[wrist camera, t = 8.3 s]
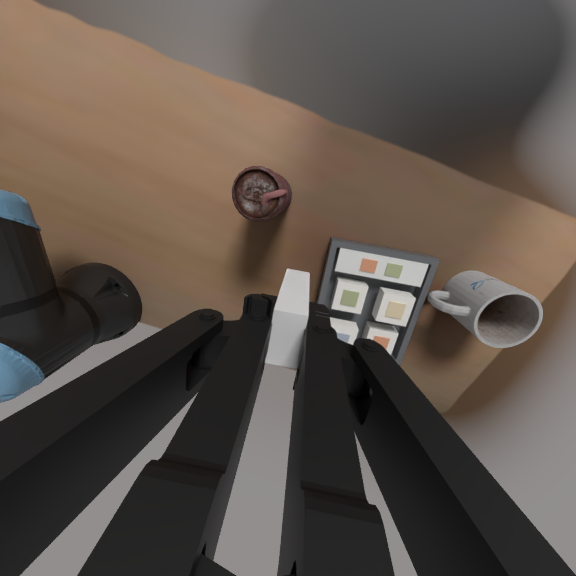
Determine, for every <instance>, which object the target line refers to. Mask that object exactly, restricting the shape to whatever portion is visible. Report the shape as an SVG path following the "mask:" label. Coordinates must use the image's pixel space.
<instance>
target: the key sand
mask: <svg viewBox="0 0 576 576" xmlns="http://www.w3.org/2000/svg"><path fill="white" fill-rule="evenodd" d="M415 300H416V298H415V297H414V296H413V295H412V294H411V293H410V292H405V291H399V290H394V289H389V288H384V287H380V289H379V292H378V295H377V298H376V302H375V305H374V308H373V311H372V315H373V317H374V319H375V321H379V322H384V323H390V324H395V325H400V326H405V327H406V325H407V322H408V319H409V317H410V314H411V311H412V308H413V306H414V303H415Z"/></svg>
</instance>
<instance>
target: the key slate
mask: <svg viewBox="0 0 576 576" xmlns="http://www.w3.org/2000/svg"><path fill="white" fill-rule="evenodd" d="M330 322H331V327H333V328H334V329H335V331H336V332H337V338H338V339H340V340H342V341H344V342H346V343H349V344H351V345H353V343H354V341H355V340H356V337H357V334H358V331H359V329H358V327H357V324H356V322H352V321H347V320H342V319H336V318H331V317H330Z"/></svg>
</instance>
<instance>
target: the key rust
mask: <svg viewBox="0 0 576 576" xmlns="http://www.w3.org/2000/svg"><path fill="white" fill-rule="evenodd" d="M398 334H399V333H398V332H397V330H396V329H395V327H394V326H391V325H386V324H381V323H375V322H370V321H366V325H365V328H364V331H363V334H362V338H365V339H371V340H374V341H376V342H377V343H379V344H381V345H382V346H383V347H384V348H385V349H386V350H387V352H388V353H389V354H390V355H391V354H392V351H393V348H394V345H395V343H396V340H397V337H398Z"/></svg>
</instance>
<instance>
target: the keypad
mask: <svg viewBox="0 0 576 576" xmlns="http://www.w3.org/2000/svg"><path fill="white" fill-rule="evenodd" d="M439 262H440V260H439V259H437V258H435V257H433V256H431V255H425V254H420V253H415V252H409V251H404V250H399V249H393V248H388V247H382V246H377V245H372V244H366V243H361V242H356V241H350V240H345V239H339V238H334V237H331V239H330V244H329V248H328V252H327V257H326V261H325V266H324V270H323V274H322V279H321V283H320V288H319V292H318V296H317V301H316V303H318V304H323V305H325V306H326V307H327V308H328V309H329V315H330V317H331V318H336V319H342V320H347V321H352V322H356V324H357V327H358V329H359V331H358V334H357V337H356V339H358V338H362V334H363V331H364V328H365V325H366V321H370V322H375V323H381V324H386V325H391V326H394V327H395V329H396V330H397V332H398V333H399V334H398V337H397V340H396V343H395V345H394V348H393V351H392V354H391V356H392V357H393V359H394V360H395V361H396V362H397V363H398V365H399V366H400V364H401V361H402V359H403V356H404V353H405V351H406V348H407V346H408V343H409V340H410V338H411V335H412V332H413V330H414V327H415V325H416V322H417V319H418V317H419V314H420V312H421V309H422V306H423V304H424V301H425V298H426V296H427V293H428V291H429V288H430V285H431V283H432V280H433V277H434V275H435V272H436V270H437V267H438V264H439ZM337 276H338V277H344V278H349V279H354V280H360V281H365V282H366V283H367V285H368V287H369V288H368V291H367V294H366V298H365V301H364V304H363V308H362V311H361V314H356V313H351V312H346V311H341V310H335V309H331V304H330V302H331V298H332V294H333V289H334V285H335V281H336V277H337ZM380 287H384V288H389V289H394V290H399V291H405V292H410V293H411V294H412V295H413V296H414V297H415V298H416V300H415V303H414V306H413V308H412V311H411V314H410V317H409V319H408V322H407V325H406V327H405V326H400V325H395V324H390V323H384V322H379V321H375V319H374V317H373V315H372V311H373V308H374V305H375V302H376V298H377V295H378V292H379V289H380Z"/></svg>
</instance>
